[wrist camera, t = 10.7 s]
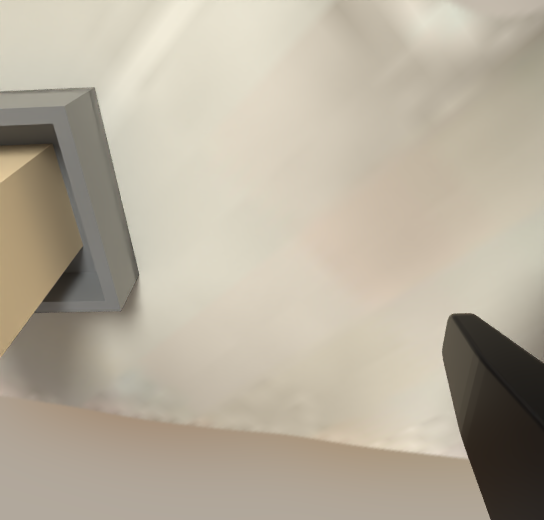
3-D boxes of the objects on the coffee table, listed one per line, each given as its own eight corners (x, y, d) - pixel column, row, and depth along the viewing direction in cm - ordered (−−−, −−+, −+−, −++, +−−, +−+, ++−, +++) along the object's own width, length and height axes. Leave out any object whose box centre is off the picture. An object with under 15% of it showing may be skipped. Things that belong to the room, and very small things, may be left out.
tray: (94, 87, 19) (64, 105, 17) (139, 274, 24) (121, 311, 22) (-121, 97, 20) (-182, 116, 17) (-35, 278, 25) (-72, 314, 22)
